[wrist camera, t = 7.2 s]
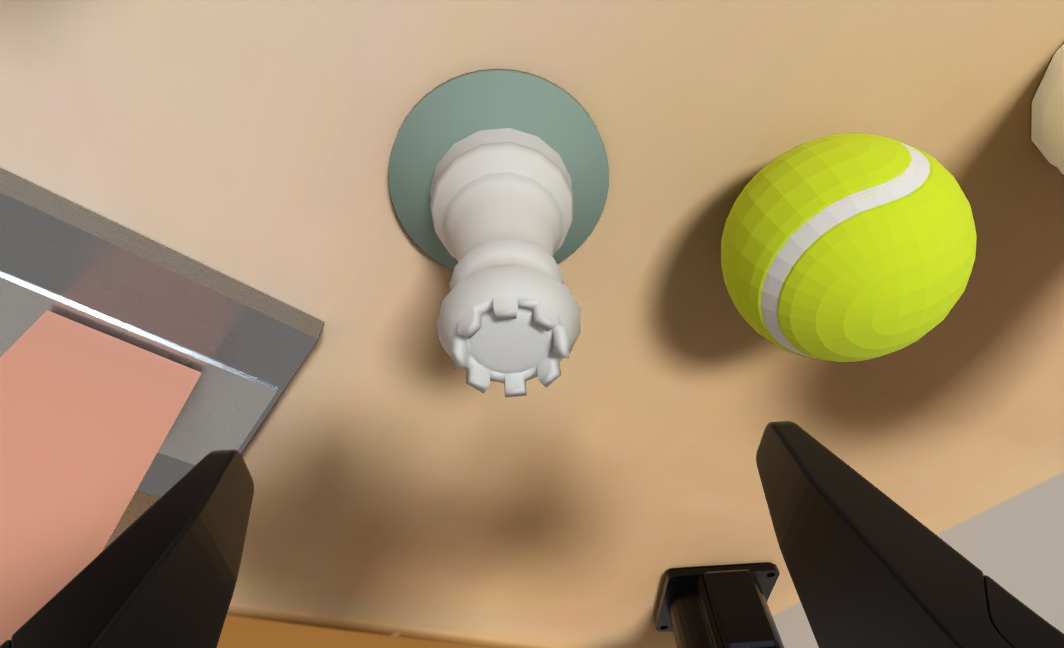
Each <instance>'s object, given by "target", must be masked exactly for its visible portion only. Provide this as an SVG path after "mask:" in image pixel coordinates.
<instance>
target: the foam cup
mask: <svg viewBox="0 0 1064 648" xmlns="http://www.w3.org/2000/svg"><path fill="white" fill-rule="evenodd" d="M1031 140H1032V142H1033V143H1034V144H1035V145H1036V147H1037V148H1038V149H1039V150H1040V152H1041V153H1042V154H1043V155H1044V157H1045V158H1046V159H1047V160H1048V162H1049V163H1050V164H1052V165H1054V166H1056V167H1057V168H1058V169H1059V171H1060V172H1061V173H1062V174H1063V175H1064V44H1063V45H1062V46H1061V47H1060V48H1059V49H1058V50H1057V51H1056V53H1055V54H1054V56H1053V58H1052V60H1051V62H1050V64H1049V66H1048V68H1047V70H1046V72H1045V75H1044V77H1043V79H1042V81H1041V83H1040V85H1039V87H1038V89H1037V92H1036V94H1035V96H1034V98H1033V100H1032V120H1031Z"/></svg>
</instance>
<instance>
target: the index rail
mask: <svg viewBox="0 0 1064 648" xmlns="http://www.w3.org/2000/svg"><path fill="white" fill-rule="evenodd" d="M47 310H48V311H50V312H53V313H55V314H58V315H60V316H63V317H65V318H68V319H70V320H73V321H75V322H78V323H80V324H83V325H85V326H88V327H90V328H92V329H95V330H97V331H100V332H102V333H105V334H107V335H110V336H112V337H115V338H117V339H120V340H122V341H125V342H127V343H130V344H132V345H135V346H137V347H139V348H142V349H144V350H147V351H149V352H152V353H154V354H157V355H159V356H162V357H164V358H167V359H169V360H172V361H174V362H177V363H179V364H182V365H184V366H186V367H189V368H191V369H194V370H196V371H199V372H201V375H200V377H199V379H198V381H197V382H196V384H195V386H194V388H193V390H192V391H191V393H190V395H189V397H188V399H187V400H186V402H185V404H184V406H183V408H182V409H181V411H180V413H179V415H178V416H177V418H176V420H175V422H174V424H173V425H172V427H171V429H170V431H169V433H168V434H167V436H166V438H165V440H164V442H163V443H162V445H161V447H160V449H159V451H158V452H157V454H156V456H155V458H154V459H153V461H152V463H151V465H150V467H149V468H148V470H147V472H146V474H145V476H144V477H143V479H142V481H141V483H140V485H139V486H138V488H137V490H136V491H140V492H143V493H146V494H149V495H152V496H156V497H159V498H161V497H162V496H163V495H164V494H165V493H166V492H167V491H168V490H169V489H170V488H171V487H172V486H174V485H175V484H176V483H177V482H178V481H179V480H180V479H181V478H182V477H183V476H184V475H185V474H186V473H188V472H189V471H190V470H191V469H192V468H193V467H194V466H195V465H196V464H197V463H198V462H199V461H201V460H202V459H203V458H204V457H205V456H206V455H207V454H208V453H210V452H212V451H215V450H232V449H234V450H237V451H239V452H240V453H242V451H243V450H244V448H245V447H246V445H247V444H248V442H249V441H250V439H251V438H252V436H253V435H254V433H255V432H256V430H257V429H258V427H259V426H260V425H261V423H262V422H263V420H264V419H265V417H266V416H267V414H268V413H269V411H270V410H271V408H272V407H273V405H274V404H275V402H276V401H277V399H278V398H279V396H280V395H281V393H282V392H283V390H284V389H285V387H286V386H287V384H288V383H289V382H290V380H291V379H292V377H293V376H294V374H295V373H296V371H297V370H298V368H299V367H300V365H301V364H302V362H303V361H304V359H305V358H306V356H307V355H308V353H309V352H310V350H311V349H312V347H313V346H314V344H315V343H316V341H317V340H318V338H319V335H320V332H321V330H322V327H323V324H324V322H322V321H320V320H318V319H316V318H314V317H312V316H310V315H308V314H306V313H304V312H302V311H299V310H297V309H295V308H293V307H291V306H289V305H287V304H285V303H283V302H281V301H278V300H276V299H274V298H272V297H270V296H268V295H266V294H264V293H262V292H260V291H257V290H255V289H253V288H251V287H249V286H247V285H245V284H243V283H241V282H239V281H236V280H234V279H232V278H230V277H228V276H226V275H224V274H222V273H220V272H218V271H215V270H213V269H211V268H209V267H207V266H205V265H203V264H201V263H199V262H197V261H194V260H192V259H190V258H188V257H186V256H184V255H182V254H180V253H178V252H176V251H174V250H171V249H169V248H167V247H165V246H163V245H161V244H159V243H157V242H155V241H153V240H150V239H148V238H146V237H144V236H142V235H140V234H138V233H136V232H134V231H132V230H129V229H127V228H125V227H123V226H121V225H119V224H117V223H115V222H113V221H111V220H108V219H106V218H104V217H102V216H100V215H98V214H96V213H94V212H92V211H90V210H87V209H85V208H83V207H81V206H79V205H77V204H75V203H73V202H71V201H69V200H66V199H64V198H62V197H60V196H58V195H56V194H54V193H52V192H50V191H48V190H46V189H43V188H41V187H39V186H37V185H35V184H33V183H31V182H29V181H27V180H25V179H22V178H20V177H18V176H16V175H14V174H12V173H10V172H8V171H6V170H4V169H1V168H0V357H1V356H2V355H3V354H4V353H5V352H6V351H7V350H8V349H9V348H10V347H11V346H12V345H13V344H14V343H15V342H16V341H17V340H18V339H19V338H20V337H21V336H22V335H23V334H24V333H25V332H26V331H27V330H28V329H29V328H30V327H31V326H32V325H33V324H34V323H35V322H36V321H37V320H38V319H39V318H40V317H41V316H42V315H43V314H44V313H45V312H46V311H47Z"/></svg>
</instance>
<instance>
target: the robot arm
mask: <svg viewBox="0 0 1064 648" xmlns="http://www.w3.org/2000/svg"><path fill="white" fill-rule="evenodd" d="M756 462H757V468H758V471H759V475H760V479H761V482H762V486H763V490H764V493H765V497H766V501H767V504H768V508H769V512H770V515H771V519H772V523H773V526H774V530H775V534H776V537H777V540H778V543H779V547H780V549H781V552H782V555H783V558H784V560H785V563H786V565H787V568H788V571H789V573H790V576H791V578H792V581H793V583H794V586H795V588H796V591H797V593H798V596H799V598H800V601H801V603H802V606H803V608H804V611H805V613H806V616H807V618H808V621H809V623H810V626H811V629H812V631H813V634H814V636H815V639H816V641H817V643H818V646H819V648H1064V634H1063V633H1062V632H1061V631H1059V630H1058V629H1056V628H1055V627H1054V626H1052V625H1051V624H1049V623H1048V622H1047V621H1045V620H1044V619H1043V618H1041V617H1040V616H1039V615H1038V614H1036V613H1035V612H1034V611H1032V610H1031V609H1030V608H1028V607H1027V606H1026V605H1024V604H1023V603H1022V602H1020V601H1019V600H1018V599H1017V598H1015V597H1014V596H1013V595H1011V594H1010V593H1009V592H1008V591H1006V590H1005V589H1004V588H1003V587H1001V586H1000V585H999V584H998V583H996V582H995V581H994V580H993V579H991V578H990V577H989V576H986V575H985V576H983V572H982V571H981V570H980V569H978V568H977V567H976V566H975V565H973V564H972V563H971V562H969V561H968V560H967V559H966V558H965V557H963V556H962V555H961V554H959V553H958V552H957V551H956V550H954V549H953V548H952V547H951V546H949V545H948V544H947V543H946V542H944V541H943V540H942V539H940V538H939V537H938V536H937V535H936V534H934V533H933V532H932V531H930V530H929V529H928V528H927V527H925V526H924V525H923V524H922V523H920V522H919V521H918V520H917V519H915V518H914V517H913V516H912V515H910V514H909V513H908V512H907V511H905V510H904V509H903V508H901V507H900V506H899V505H898V504H896V503H895V502H894V501H893V500H891V499H890V498H889V497H888V496H886V495H885V494H884V493H883V492H881V491H880V490H879V489H878V488H876V487H875V486H874V485H872V484H871V483H870V482H869V481H867V480H866V479H865V478H864V477H862V476H861V475H860V474H859V473H857V472H856V471H855V470H854V469H852V468H851V467H850V466H849V465H847V464H846V463H845V462H843V461H842V460H841V459H840V458H838V457H837V456H836V455H835V454H833V453H832V452H831V451H830V450H828V449H827V448H826V447H825V446H823V445H822V444H821V443H820V442H818V441H817V440H816V439H814V438H813V437H812V436H811V435H809V434H808V433H807V432H806V431H804V430H803V429H802V428H801V427H799V426H798V425H797V424H795V423H793V422H790V421H783V422H771V423H769V424H768V425H767V426H766V428H765V430H764V433H763V436H762V439H761V442H760V445H759V448H758V450H757V455H756ZM253 493H254V484H253V480H252V477H251V475H250V473H249V470H248V468H247V466H246V464H245V461H244V459H243V457H242V455H241V453H240V452H239V451H237V450H234V449H232V450H215V451H212V452H210V453H208V454H207V455H206V456H205V457H204V458H203V459H202V460H201V461H199V462H198V463H197V464H196V465H195V466H194V467H193V468H192V469H191V470H190V471H189V472H188V473H186V474H185V475H184V476H183V477H182V478H181V479H180V480H179V481H178V482H177V483H176V484H175V485H174V486H172V487H171V488H170V489H169V490H168V491H167V492H166V493H165V494H164V495H163V496H162V497H161V498H159V499H158V500H157V501H156V502H155V503H154V504H153V505H152V506H151V507H150V508H149V509H148V510H147V511H145V512H144V513H143V514H142V515H141V516H140V517H139V518H138V519H137V520H136V521H135V522H134V523H132V524H131V525H130V526H129V527H128V528H127V529H126V530H125V531H124V532H123V533H122V534H121V535H120V536H118V537H117V538H116V539H115V540H114V541H113V542H112V543H111V544H110V545H109V546H108V547H107V548H105V549H104V550H103V551H102V552H101V553H100V554H99V555H98V556H97V557H96V558H95V559H94V560H93V561H91V562H90V563H89V564H88V565H87V566H86V567H85V568H84V569H83V570H82V571H81V572H80V573H78V574H77V575H76V576H75V577H74V578H73V579H72V580H71V581H70V582H69V583H68V584H67V585H66V586H64V587H63V588H62V589H61V590H60V591H59V592H58V593H57V594H56V595H55V596H54V597H53V598H51V599H50V600H49V601H48V602H47V603H46V604H45V605H44V606H43V607H42V608H41V609H40V610H39V611H37V612H36V613H35V614H34V615H33V616H32V617H31V618H30V619H29V620H28V621H27V622H26V623H24V624H23V625H22V626H21V627H20V628H19V629H18V630H17V631H16V632H15V633H14V634H13V635H12V637H11V640H6V641H5V642H4V643H3V644H2V645H0V648H216V647H217V644H218V641H219V638H220V634H221V631H222V628H223V625H224V622H225V618H226V615H227V612H228V609H229V605H230V602H231V599H232V596H233V592H234V588H235V585H236V581H237V577H238V572H239V568H240V563H241V557H242V552H243V547H244V541H245V536H246V531H247V525H248V520H249V515H250V509H251V504H252V499H253ZM778 576H779V570H778V568H777V566H776V565H775V564H758V565H741V566H725V567H709V568H693V569H677V570H672V571H669V572H668V573H667V574H666V578H665V582H664V586H663V590H662V594H661V598H660V602H659V606H658V610H657V614H656V618H655V627H656V630H657V631H662V632H663V631H673V632H674V636H675V640H676V644H677V648H784V646H783V643H782V641H781V638H780V635H779V633H778V630H777V628H776V625H775V623H774V620H773V617H772V615H771V612H770V610H769V607H768V604H767V600H768V598H769V596H770V593H771V591H772V589H773V587H774V585H775V583H776V580H777V578H778Z"/></svg>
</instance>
